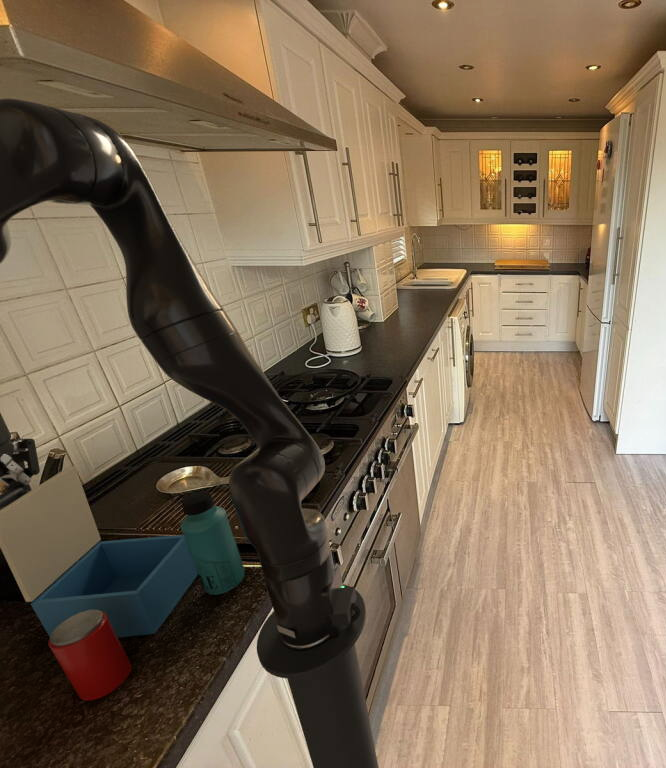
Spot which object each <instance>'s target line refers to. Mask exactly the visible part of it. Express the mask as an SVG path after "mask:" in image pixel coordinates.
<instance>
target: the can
mask: <svg viewBox="0 0 666 768" xmlns="http://www.w3.org/2000/svg"><path fill="white" fill-rule="evenodd" d="M48 647H49V648H50V651H51V652H52V654H53V655H54V657H55V659H56V661H57V662H58V664H59V665H60V667H61V669H62V670H63V672H64V674H65V676H66V677H67V679H68V681H69V682H70V684H71V686H72V687H73V690H74V691H75V693H76V694H77V696H78V698H79V699H80V700H82V701H87V702H88V701H95V700H98V699H100V698H103V697H105V696H107V695H109V694H110V693H112V692H113V691H115V690H116V689H117V688H119V687H120V686H121V685H122V684H123V683H124V682H125V681H126V680H127V678H128V677H129V675H130V673H131V672H132V663H131V661H130V659H129V657H128V655H127V653H126V651H125V649H124V647H123V645H122V643H121V640H120V638H118V637H117V635H116V633H115V631H114V629H113V627H112V625H111V623H110V621H109V619H108V617H107V615H106V613H104V612H102V611H99V610H88V611H84V612H81V613H78V614H76V615H74V616H72V617H70V618H68V619H67V620H65V621H64V622H62V623H61V624H60V625H59V626H58V627H56V629H55V630H54V631H53V632H52V634H51V636H49V640H48Z"/></svg>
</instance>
